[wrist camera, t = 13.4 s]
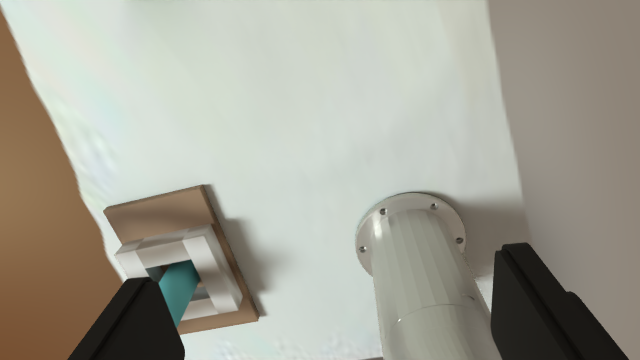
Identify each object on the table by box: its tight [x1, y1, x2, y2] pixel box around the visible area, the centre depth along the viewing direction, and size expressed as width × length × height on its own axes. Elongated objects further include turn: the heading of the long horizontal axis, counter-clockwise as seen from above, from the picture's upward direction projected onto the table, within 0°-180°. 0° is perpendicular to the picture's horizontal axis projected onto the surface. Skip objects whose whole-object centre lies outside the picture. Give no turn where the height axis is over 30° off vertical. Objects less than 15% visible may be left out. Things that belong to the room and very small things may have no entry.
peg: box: [159, 259, 201, 328], centre depth 44 cm, size 4×4×8 cm
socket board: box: [103, 185, 259, 335], centre depth 47 cm, size 20×12×4 cm, turn 15°
